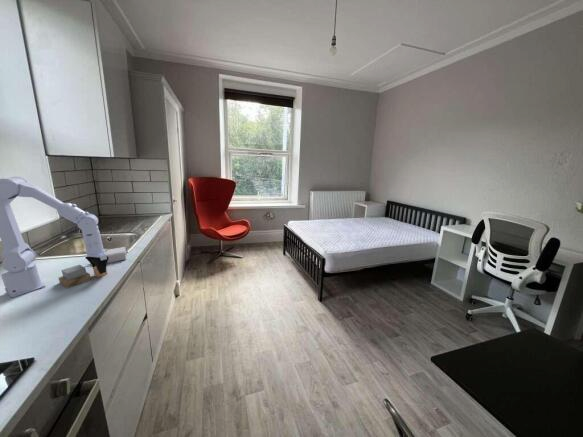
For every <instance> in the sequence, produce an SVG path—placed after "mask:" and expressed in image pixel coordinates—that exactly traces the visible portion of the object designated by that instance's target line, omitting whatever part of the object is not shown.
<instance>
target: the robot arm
mask: <svg viewBox="0 0 583 437" xmlns="http://www.w3.org/2000/svg"><path fill="white" fill-rule="evenodd" d="M17 197H18V198H19V197H20V198H33V199H35V200H37V201H39V202H41V203H42V204H45V205H47V206H48V207H50V208H53V209H55V210H56V211H57V214H58V215H59V216H61V217H63V218H65V219H66V220H68V221H70V222H72V223H74V224H77V228H79V230H81V233H82V238H83V243H84V246H85V251H86V256H85V259H86V260H87V261H88V262H89V264H90V265H91V267H92V268H93V267H95V266H96V267H97V269H98V271H99V273H100V274H102V273H105V272H106V269H107V267H108V266H107V264H108V263H107V261H108V259H109V257H108V256H106V255H105V252H106V251H107V250H108V249H107V248H104V245H103V240H102V235H101V233H100V230H99V228H100V227H99V225H98V224H99V218H98V216H96V215H95V214H94V213H90V212H88V211H84V210H83V209H81V208H80V207H78V205H77V204H75V203H71V202H63V201H62V200H59V199H58V198H57V197H55V196H53V195H52V194H50V193H49V192H47V191H45V190H44V189H42V188H40V187H39V186H37V185H36V184H35V183H33V182H32V181H28V180H27V179H25V178H24V177H21V176H13V177H7V178H0V241H1V244H2V245H3V250H2V253H1V257H2V262H1V266H2V268H3V269H4V270H5V271H6V272H3V273H1V274H0V276H1V280H2V282H3V286H4V290H5V292H6V293H7V294H8V296H9V297H10V298H15V297H19V296H21V295H25V294H26V293H30V292H32V291H36V290H39V289H42V288H45V287H46V284H45V283H44V282H42V280H41V277H40V274H39V271H38V268H37V265H36V263H35V259H36V258H37V253H36V251H34V250H33V249H32V248H31V246H30V244H28V243H27V242H25V239H24V237H23V236H22V232H21V230H20V228H19V224H18V222H17V219H16V218H15V217H16V216H15V214H14V212H13V208H12V206H11V203H12V202H13V201H14V200H15V199H16V198H17Z"/></svg>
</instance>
